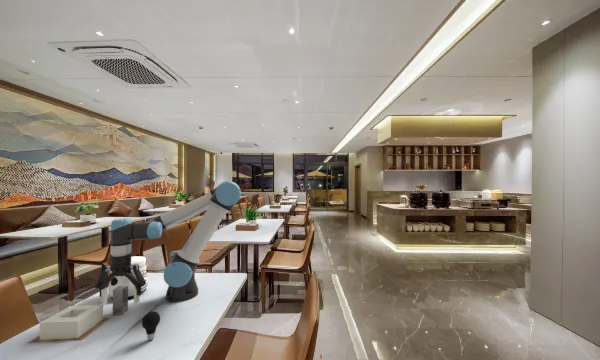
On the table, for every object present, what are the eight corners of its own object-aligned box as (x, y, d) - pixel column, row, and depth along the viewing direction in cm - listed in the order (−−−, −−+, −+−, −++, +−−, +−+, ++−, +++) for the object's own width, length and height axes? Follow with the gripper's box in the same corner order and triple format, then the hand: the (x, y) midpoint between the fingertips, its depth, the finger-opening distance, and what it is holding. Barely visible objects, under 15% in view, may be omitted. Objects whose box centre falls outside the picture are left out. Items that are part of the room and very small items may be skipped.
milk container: (148, 296, 130) (148, 261, 131) (106, 305, 121) (106, 267, 121) (147, 285, 145) (147, 254, 145) (109, 292, 135) (110, 258, 136)
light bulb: (146, 335, 95) (146, 308, 95) (163, 334, 95) (163, 307, 95) (138, 345, 89) (138, 316, 89) (155, 344, 89) (155, 315, 90)
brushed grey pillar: (128, 313, 112) (128, 285, 113) (122, 317, 108) (122, 289, 109) (118, 313, 112) (118, 286, 113) (112, 318, 108) (112, 289, 109)
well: (103, 319, 105) (103, 304, 105) (77, 338, 92) (77, 321, 92) (69, 321, 104) (70, 306, 104) (39, 339, 91) (39, 322, 91)
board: (111, 320, 106) (111, 317, 106) (81, 343, 90) (81, 340, 90) (66, 322, 105) (66, 319, 105) (27, 346, 89) (27, 342, 89)
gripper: (154, 251, 116) (154, 298, 115) (97, 253, 114) (96, 300, 113) (145, 255, 108) (145, 305, 108) (84, 257, 107) (83, 308, 106)
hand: (120, 303), depth 111 cm, fingers open, 13 cm apart
